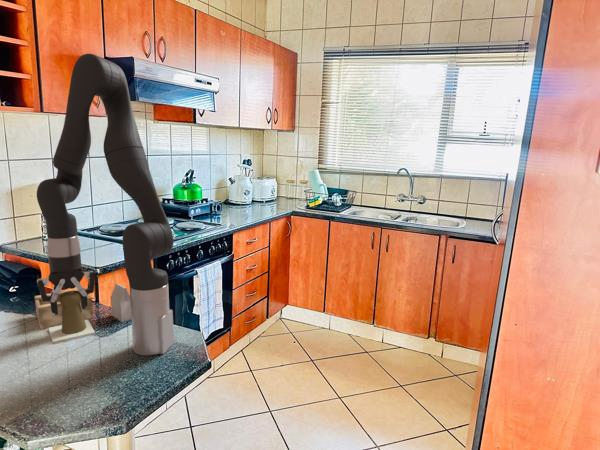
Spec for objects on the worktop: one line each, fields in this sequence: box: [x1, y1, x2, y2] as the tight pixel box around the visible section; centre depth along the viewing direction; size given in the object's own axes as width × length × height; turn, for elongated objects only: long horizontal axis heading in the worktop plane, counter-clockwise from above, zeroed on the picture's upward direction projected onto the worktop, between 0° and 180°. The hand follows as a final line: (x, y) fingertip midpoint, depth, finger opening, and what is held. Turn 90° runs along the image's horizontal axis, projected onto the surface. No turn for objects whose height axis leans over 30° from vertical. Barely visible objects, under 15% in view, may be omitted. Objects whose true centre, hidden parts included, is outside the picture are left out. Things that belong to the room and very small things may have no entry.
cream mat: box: [48, 319, 96, 345], centre depth 114 cm, size 10×10×1 cm
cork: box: [60, 289, 86, 334], centre depth 113 cm, size 6×6×11 cm
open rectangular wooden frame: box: [34, 287, 94, 330], centre depth 123 cm, size 14×11×6 cm
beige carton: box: [110, 283, 132, 323], centre depth 124 cm, size 4×7×10 cm, turn 48°
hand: (69, 310), depth 113 cm, fingers open, 6 cm apart
